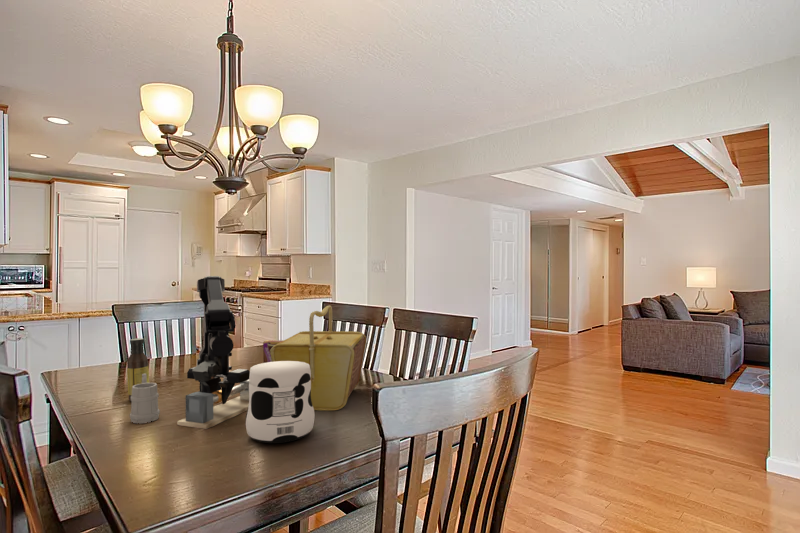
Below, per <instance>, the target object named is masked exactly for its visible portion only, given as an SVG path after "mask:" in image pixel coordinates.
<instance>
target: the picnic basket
mask: <svg viewBox="0 0 800 533" xmlns="http://www.w3.org/2000/svg"><path fill="white" fill-rule="evenodd" d="M327 313H328V331H327V330H326V331H323V330H322V331H320V330H315V329H314V318H315V316H316V317H319V318H321V317H324V316H326V315H327ZM308 318H309V319H308V322H309V323H308V324H309V325H308V326H309V328H308V329H309V330H304V331H299V332H297V333H296V334H294V335H292V336H290V337H288V338H285V339H283V340H284V341H282V342H280V343H278V344H276V345H274V346H273V347H272V348H271V351H270V354H271V360H272V362H275V361H299V362H305V363H307V364H309V365H310V370H311V401H312V405H313V408H314V411H326V412H327V411H331V412H333V411H338V410H341V409H343V408H344V407H345V406H346V405H347V402H348V399H349V397H350V395H351V394H352V392H353V391H354V389H355V388H356V387H357V386H358V384H359V383H360V380H361V379H360V378H361V372H362V367H363V362H364V355H365V350H366V344H367V337H366V335H365V334H364V333H363V332H360V331H349V330H347V331H344V330H342V331H341V330H340V331H339V330H338V331H336V330H335V331H333V308H332V305H330V304H329V305H326V306H325V307H324V308H323V309H322V310H321V311H319V310H314V311H312V312H310V315H309V317H308ZM314 330H315V331H314Z"/></svg>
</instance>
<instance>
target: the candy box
mask: <svg viewBox="0 0 800 533" xmlns="http://www.w3.org/2000/svg"><path fill="white" fill-rule="evenodd" d="M284 340H285V339H278V340H277V339H273V340H264V341H263V342H262V348H263V349H262V354H263V357H262V360H263V362H262V363H267V362H272V360H271V354H270V351H271V348H272V347H273V346H274V345H276V344H278V343H280V342H282V341H284Z"/></svg>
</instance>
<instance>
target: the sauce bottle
mask: <svg viewBox="0 0 800 533" xmlns="http://www.w3.org/2000/svg"><path fill="white" fill-rule="evenodd" d="M144 343H145V338H143V337H141V338H140V337H139V338H131V339H130V340H129V345H130V355H129V357H128V358H127V361H126V366H127V367H126V372H127V373H126V375H127V378H126V379H127V395H128V401H130V402H132V401H131V396H132V386H134V385H137V384H142V374H146V375H147V383H150V370H149V359H148V357H147V355H146V354H145V352H144V351H145V349H144Z"/></svg>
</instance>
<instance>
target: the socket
mask: <svg viewBox="0 0 800 533" xmlns="http://www.w3.org/2000/svg"><path fill="white" fill-rule="evenodd" d="M213 407H214V403H213V394H212V393H202V392H198V391H195V392H191V393H189V394H186V395H185V418H186V421H189V422H197V423H205V422H207V421H210V420H212V419H213Z"/></svg>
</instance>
